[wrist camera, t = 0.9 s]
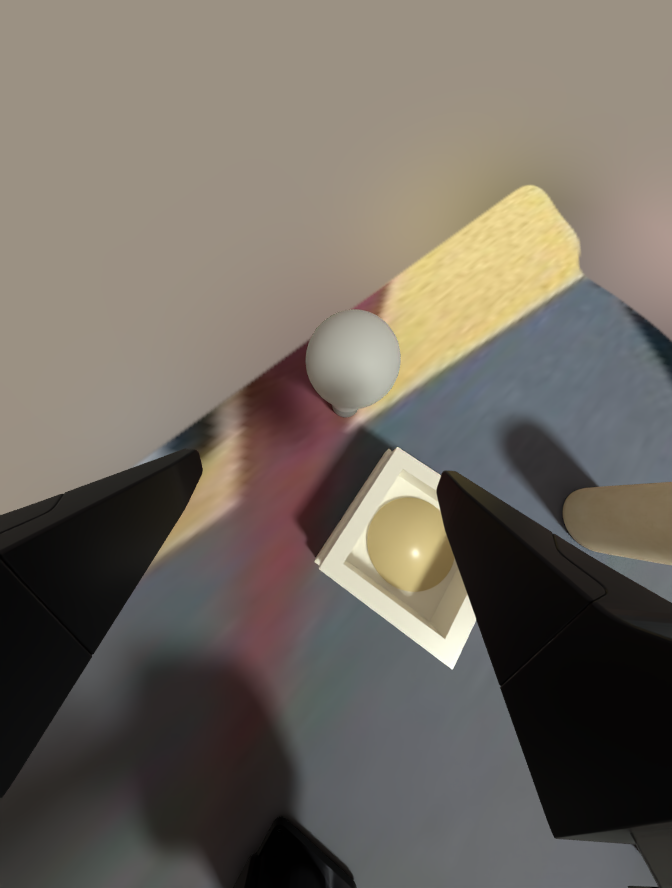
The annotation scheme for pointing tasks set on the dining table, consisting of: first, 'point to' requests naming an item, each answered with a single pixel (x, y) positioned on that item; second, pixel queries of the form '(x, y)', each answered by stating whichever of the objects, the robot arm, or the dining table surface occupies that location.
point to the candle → (623, 520)
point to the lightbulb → (352, 360)
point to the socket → (402, 556)
